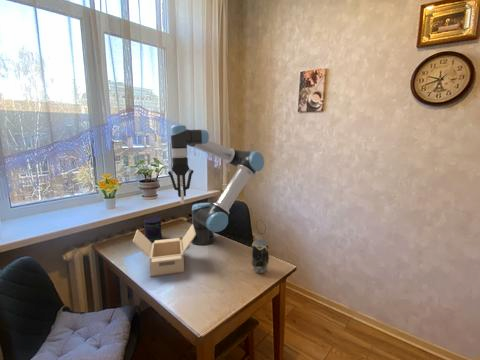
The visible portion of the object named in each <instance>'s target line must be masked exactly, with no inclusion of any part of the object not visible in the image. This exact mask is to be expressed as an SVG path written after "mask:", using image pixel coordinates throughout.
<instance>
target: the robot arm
mask: <svg viewBox="0 0 480 360" xmlns="http://www.w3.org/2000/svg"><path fill="white" fill-rule="evenodd" d="M170 144H171V156H172V158H171V160H172V161H171V162H172V165H171V169H170V170H168V171H167V174H168V175H169V178H170V180H171V183H172V186H173V189H174V190H175V191H177V197H178V198H180V204H185V197H187V190H189V189H190V186H191V181H192V177H193V173H194V170H193V169H191V168H190V166H189V157H188V146H189V147H192V148H194V149H197V150H198V151H200V152H204V153H206V154H209V155H212V156H214V157H217V158H218V159H221V160H224V161H225V163H226V164H229V165H231V166H234V167H236V168H237V170H236V171H235V173H234V175H233V176H232V178H231V179H230V181H229V182H228V184H227V185H226V187H225V188H224V190H223V191H222V192H221V194H220V196H219V197H218V199H217V200H216V202H212V203H211V202H199V203H195V204H192V207H191V220H192V221H191V223H192V224H193V225H194V229H195V232H196V236H195V237H194V239H193V240H192V242H191V243H190V244H193V245H201V246H202V245H207V244H211V243H213V242H214V241H216V240H215V239H216V237H215V233H219V232H222V231H223V230H225V229H226V227H227V226H228V224H229V215H230V209H231V208H232V205H233V204H234V202H235V201H236V200H237V197H238V196H239V195H240V193H241V192H242V190H243V188H244V187H245V185H246V183H247V182H248V181H249V179H250V178H251V177H254V176H255V174H256V173H257V172H260V171H262V170H263V168H264V166H265V159H264V156H263V154H262V153H261V152H259V151H256V150H252V151H250V150H237V149H235V148H232V147H231V148H228V147H226V146H223V145H221V144H219V143H216V142H215V141H214V140H213V141H212V140H210V134H209V132H208V131H207V130H206V129H188V128H187V126H186V125H185V124H183V125H181V124H178V125H177V124H175V125H171V126H170ZM187 173H188V175H187ZM173 174H175V175H176V181H175V178H174V175H173ZM186 175H187V179H186ZM186 180H187V181H186ZM181 181H182V183H181ZM176 184H177V185H176ZM181 184H182V188H181ZM192 224H191V225H192Z"/></svg>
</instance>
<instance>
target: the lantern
mask: <svg viewBox="0 0 480 360" xmlns="http://www.w3.org/2000/svg"><path fill="white" fill-rule="evenodd" d="M258 221H259V219H257V221H256V222H255V226H256V227H255V228H256V230H257V233H259V234H257V235H256V236H254V240H253V242H252V244H251V247H252V253H251V254H252V256H251V257H252V258H251V266H252V267H253V271H255V272H256V273H260V274H261V273H265V272H267V270H268V266H269V265H268V264H269V261H270V255H269V254H270V251H269V246H268V245H269V243H268V242H267V237H266V236H264V233H265V232H266V230H267V229H266V224H265V221H264V220H262V219H260V221H261V222H262V223H263V224H264V232H260V231H259V230H258V226H257V223H258Z"/></svg>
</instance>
